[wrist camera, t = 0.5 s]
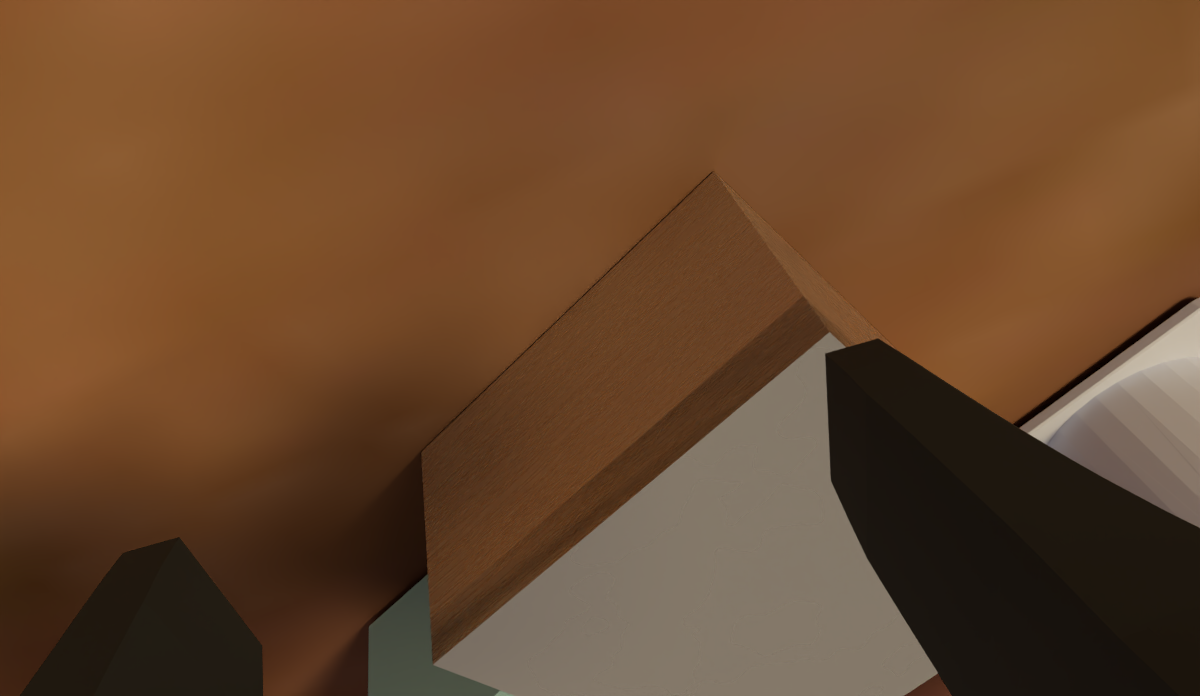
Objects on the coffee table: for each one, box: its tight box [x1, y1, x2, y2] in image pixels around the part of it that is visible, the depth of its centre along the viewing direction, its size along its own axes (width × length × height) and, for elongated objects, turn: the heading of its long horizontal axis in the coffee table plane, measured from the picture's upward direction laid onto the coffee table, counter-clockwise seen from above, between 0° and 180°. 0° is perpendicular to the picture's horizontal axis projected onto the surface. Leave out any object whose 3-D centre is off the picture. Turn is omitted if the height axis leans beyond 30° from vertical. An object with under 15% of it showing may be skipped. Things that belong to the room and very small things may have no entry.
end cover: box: [368, 574, 514, 696], centre depth 23 cm, size 5×10×5 cm, turn 134°
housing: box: [421, 171, 938, 696], centre depth 21 cm, size 11×10×6 cm
